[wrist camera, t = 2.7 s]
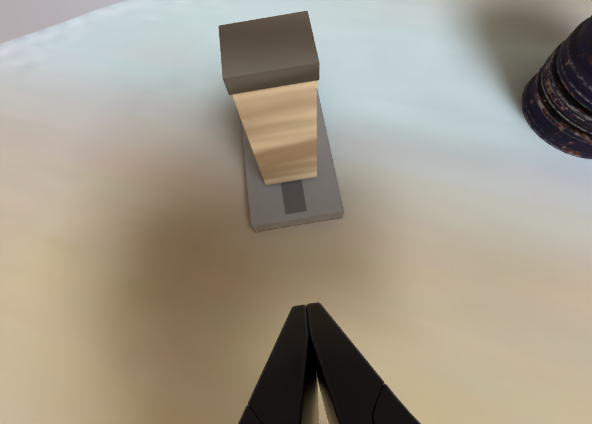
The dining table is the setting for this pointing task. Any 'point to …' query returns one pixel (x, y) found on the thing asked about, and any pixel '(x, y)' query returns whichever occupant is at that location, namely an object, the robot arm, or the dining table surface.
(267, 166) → the lever
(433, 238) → the dining table surface
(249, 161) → the fader track
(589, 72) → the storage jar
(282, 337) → the robot arm
